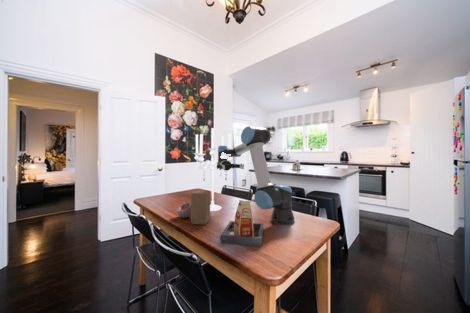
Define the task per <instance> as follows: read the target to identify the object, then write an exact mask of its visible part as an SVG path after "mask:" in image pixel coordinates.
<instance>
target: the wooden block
mask: <svg viewBox="0 0 470 313" xmlns="http://www.w3.org/2000/svg"><path fill="white" fill-rule="evenodd" d="M190 202H191V216H190V224H191V225H202V226H203V225H206V224H207V223H209V221H210V220H211V191H210V190H207V189H206V190H205V189H204V190H201V189H197V190H193V192H191V193H190Z"/></svg>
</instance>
